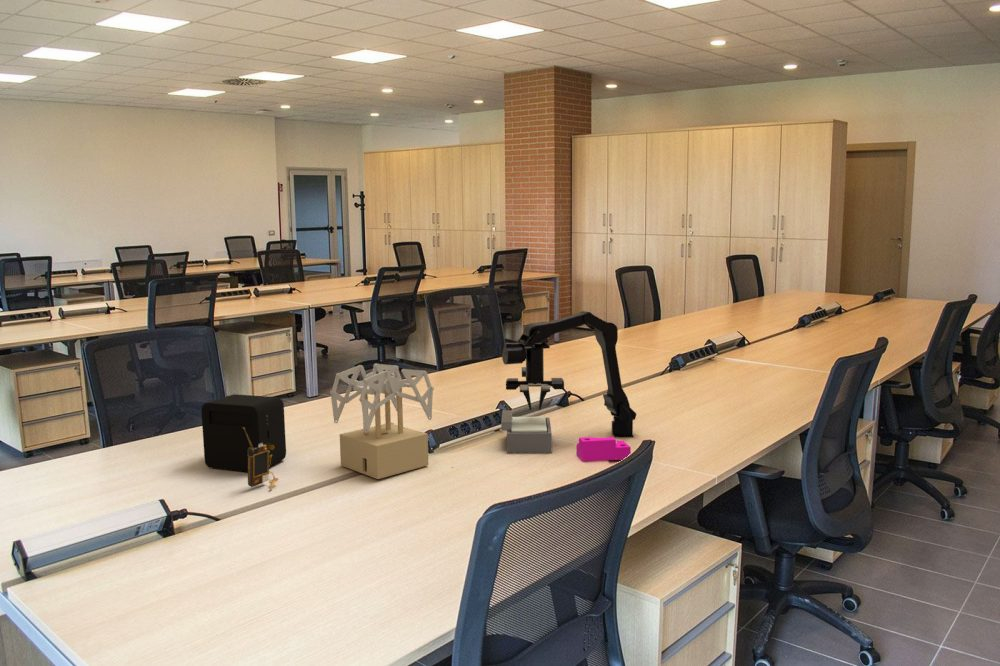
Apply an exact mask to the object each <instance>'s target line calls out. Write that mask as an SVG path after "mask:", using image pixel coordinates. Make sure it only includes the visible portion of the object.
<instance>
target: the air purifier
mask: <svg viewBox="0 0 1000 666" xmlns="http://www.w3.org/2000/svg"><path fill="white" fill-rule="evenodd" d="M200 410H201V422H202V423H201V424H202V438H203V439H202V441H203V454H204V455H203V456H204V457H203V458H204V463H205V464H206V466H207V467H209V468H210V467H212V468H211V469H216V468H218V469H217V470H225V469H227V471H237V472H246V473H248V456H247V455H248V448H251V446H250V444H249V441H248V438H247V436H246V433H247V434H248V437H249V439H250V441H251V444H252V446H253V447H257V446H258V444H260V443H263V444H266V445H268V446H269V445H274V449H273V450H271V449H270V448H269V451H270V452H269V456H270V455H272V457H271V463H270V467H271V466H273V465H275V464H277V463H279V462H282V461H283V460H285V458H286V456H287V444H286V443H287V441H286V424H285V420H286V419H285V405H284V401H283V400H282V399H281V398H280V397H277V396H267V395H265V396H264V395H249V394H235V393H233V394H231V395H227V396H224V397H221V398H218V399H214V400H210V401H208V402H205V403H203V404H202V406H201V408H200ZM243 427H245V430H244V429H243ZM245 431H246V433H245Z"/></svg>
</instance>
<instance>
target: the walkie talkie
mask: <svg viewBox="0 0 1000 666" xmlns="http://www.w3.org/2000/svg"><path fill="white" fill-rule="evenodd" d="M243 429H244V430H245V427H243ZM245 433H246V431H245ZM246 436H247V438H248V441H249V444H250V446H251V448H248V455H247V456H248V472H247V485H248V486H249V487H251V488H253V487H256V486H259V485H261V484H264V483H266V482H268V484H270V487H269V488H268V489H271V488H273V487H274V485H275V483H276V482H277V483H278V481H279V480H280V478H278V477H275V475H274V473H273V472H272V471H270V467H271V466H270V463H271V457H272V455H270V456H269V452H270V451H269V448H270V449H271V450H273V449H274V445H269V446H268V445H266V444H263V443H260V444H258V446H257V447H253V446H252V444H251V441H250V439H249V437H248V434H247V433H246ZM269 474H271V475H272V478H273V479H271V480H270V481H269Z"/></svg>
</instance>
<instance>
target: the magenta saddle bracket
mask: <svg viewBox="0 0 1000 666" xmlns="http://www.w3.org/2000/svg"><path fill="white" fill-rule="evenodd" d="M575 449H576V456H577V457H578V459H580V461H582V462H584V463H586V462H599V461H603V462H604V461H615V460H616V461H617V460H619V461H620V460H624V459H623V458H625V457H627V456H628V455H629V454H631V449H632V448H631V446H630V445H629V444H628V443H627V442H626V441H624V440H617V439H616V438H615V437H614V436H610V437H597V436H596V437H595V436H587V437H586V436H585V437H578V442H576V448H575Z"/></svg>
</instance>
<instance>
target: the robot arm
mask: <svg viewBox="0 0 1000 666" xmlns="http://www.w3.org/2000/svg"><path fill="white" fill-rule="evenodd" d="M584 325H585V326H586V327H587V328H589V329H590V330H592V331H593V333H594V336H595V339H596V342H597V343H598V345H599V347H600V349H601V356H602V360H603V365H604V371H605V379H606V385H607V392H606V393H604V394H602V396H603V400H604V402H603V403H604V404H603V405H604V406H605V407H606V410H608V411H609V412H610V415H611V416H612V419H613V420H612V421H611V434H612V435H613V438H634V430H633V429H634V426H633V425H634V421H636V418H637V413H636V411H634V410H633V409H632V408H631V406H630V402H629V399H628V396H627V394H626V392H625V391H624V389H623V387H622V385H623V384H622V379H621V374H620V367H619V361H618V355H617V349H616V346H617V343H618V337H619V336H618V335H619V334H618V332H619V330H618V329H619V328H618V326H617V324H615V323H613V322H610V321H605V320H603V319H602V318H600V317H598V316H596V315H595V314H593V313H592V312H591V311H587V310H582V311H580V312H578V313H574V314H571V315H568V316H565V317H561V318H557V319H554V320H550V321H539V322H538V321H537V322H530V323H527V324H526V325H525V327H524V329H523V333H522V334H521V336H520V337H519V339H518V340H517V341H516V342H512V343H510V342H505V343H504V344H503V345H504V346H503V348H502V353H501V358H502V362H503V364H504V365H505V366H506V365H507V366H508V365H518V364H519V365H520V364H523V363H524V362H525V366H522V367H521V377H522V378H525V380H519V378H518V377H516V378H515V377H513V378H509V377H508V378H506V381H505V391H506V390H507V391H511V390H512V391H514V390H517V389H518V388H519V393H523V396H524V397H525V400H526V401H527V406H528V408H529V411H532V403H531V401H532V400H531V394H530V388H529V387H531V388H533V387H535V388H536V387H537V388H538V387H540V392H539V393H540V394H539V402H538V410H539V411H540V410H541V409H542V405H543V403H544V399H545V397H546V395H547V393H550V392H551V388H553V390H565V381H564V379H563V378H562V377H551V378H550V380H544V379H545V378H544V373H545V372H544V367H545V366H544V360H545V359H544V350H545V349H550V348H551V346H550V345H549V344H547V342H546V340H548V339H549V338H551V337H552V336H554V335H555V334H557V333H562V332H564V331H567V330H568V331H569V330H571V329H574V328H579V327H582V326H584Z"/></svg>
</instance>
